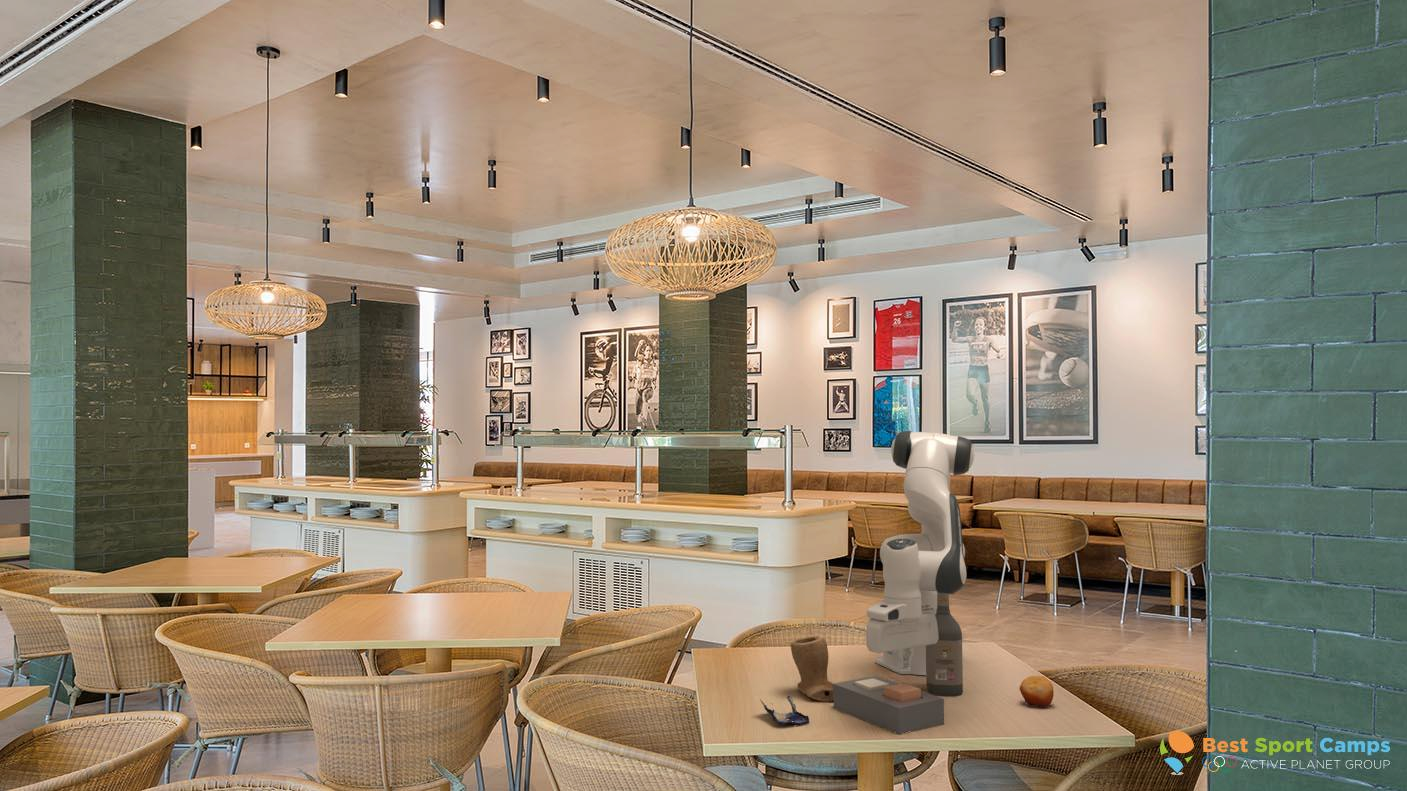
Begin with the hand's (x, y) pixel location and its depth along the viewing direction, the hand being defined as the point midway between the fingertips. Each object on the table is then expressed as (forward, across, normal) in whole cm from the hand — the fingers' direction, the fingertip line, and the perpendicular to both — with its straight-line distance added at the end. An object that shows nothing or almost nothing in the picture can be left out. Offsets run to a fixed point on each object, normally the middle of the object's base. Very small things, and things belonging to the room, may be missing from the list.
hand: (903, 667), depth 226 cm
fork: (+13, -14, -17) cm, 26 cm away
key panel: (+13, 0, -6) cm, 14 cm away
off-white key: (+9, 0, -12) cm, 15 cm away
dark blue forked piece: (+13, +23, -17) cm, 31 cm away
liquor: (+13, -27, -14) cm, 33 cm away
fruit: (+13, -38, +7) cm, 41 cm away
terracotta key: (+8, 0, -1) cm, 8 cm away
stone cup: (+13, +4, -29) cm, 32 cm away
